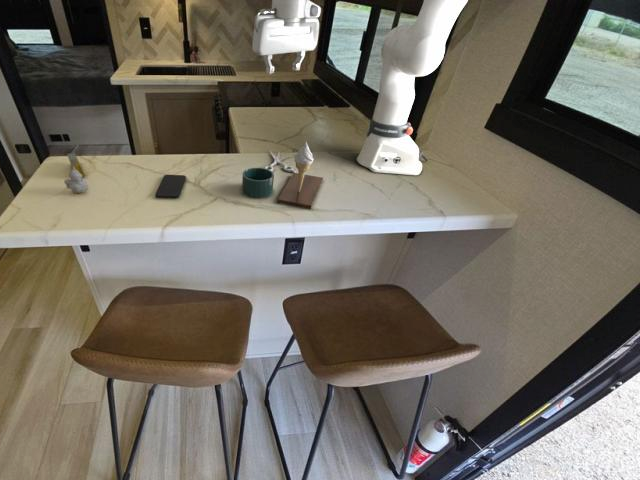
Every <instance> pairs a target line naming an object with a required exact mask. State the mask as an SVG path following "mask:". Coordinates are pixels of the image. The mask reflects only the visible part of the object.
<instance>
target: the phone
mask: <svg viewBox="0 0 640 480" xmlns="http://www.w3.org/2000/svg"><path fill="white" fill-rule="evenodd" d="M186 179H187V175H185V174H184V175H183V174H165V175H163V176H162V178H161V181H160V183H159V185H158V187H157V189H156V191H155V194H154V195H155V198H157V199H178V198H180V197H181V193H182V191H183V188H184V187H185V186H184V185H185V182H186Z"/></svg>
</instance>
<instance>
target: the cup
mask: <svg viewBox="0 0 640 480" xmlns="http://www.w3.org/2000/svg"><path fill="white" fill-rule="evenodd" d="M274 181H275V173H274V171H270V169H269V168H267V169H265V167H250V168H247V169H245V170H243V171H242V179H241V183H242V184H241V191H242V194H243V195H244V196H246V197H248V198H251V199H266V198H269V197H270V196H271V195H272V194H273V190H274Z"/></svg>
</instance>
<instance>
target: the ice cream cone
mask: <svg viewBox="0 0 640 480" xmlns="http://www.w3.org/2000/svg"><path fill="white" fill-rule="evenodd" d="M313 157H314V155H313V153H312V152H311V150H310V148H309V145H308V142H307V141H305V142H304V144H303V145H302V147H301V148H300V149H299V150H298V151H297V152H296V154H295V155H294V156H293V158H294V159H293V160H294V162H295V163H294V164H295V168H296V169H297V171H298V192H300V190H301V186H302V182H303V179H304V175H306V172H307V170H309V169H310V168H311V165H312V164H313V162H314V159H315V158H313Z"/></svg>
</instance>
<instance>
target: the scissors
mask: <svg viewBox="0 0 640 480" xmlns="http://www.w3.org/2000/svg"><path fill="white" fill-rule="evenodd" d="M269 152H270V154H271V156H272V158H273V160H274V161H273V162H272V163H270V164H269V165H266V166H265V167H264V168H265V169H269V170H270V171H272V172H274V170H275V167H274V166H275V165H277V164H278V165H281V166H283V170H284V171H285V172H288V173H292V174H293V173H297V171H296V170H295V169H294V166H292V165H289V164H286V163H285V162H282V161H281V159H280V156H281V155H280V154H281V151H280V150H278V153H277V155H275V154H274V153H273V152H272V151H271V150H269Z"/></svg>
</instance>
